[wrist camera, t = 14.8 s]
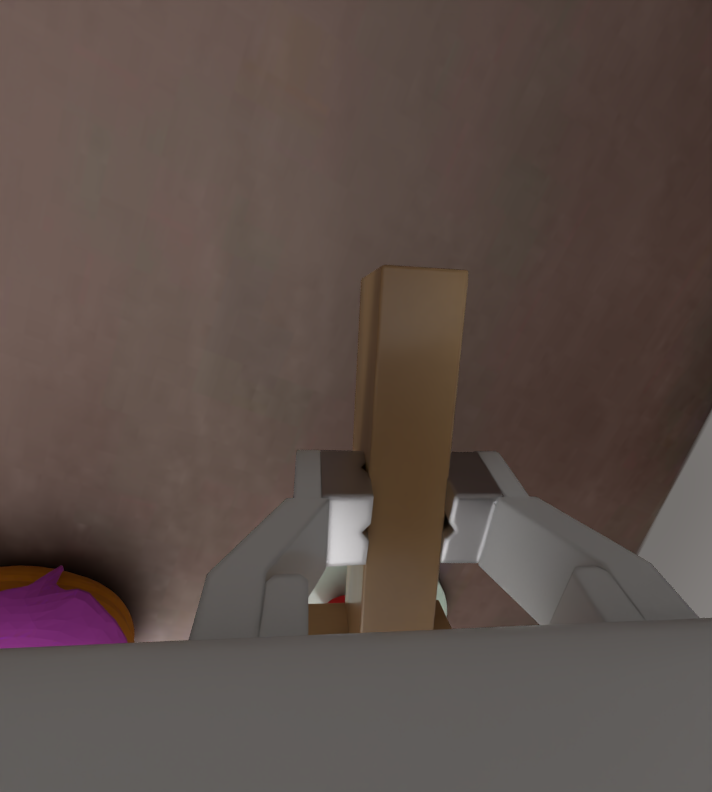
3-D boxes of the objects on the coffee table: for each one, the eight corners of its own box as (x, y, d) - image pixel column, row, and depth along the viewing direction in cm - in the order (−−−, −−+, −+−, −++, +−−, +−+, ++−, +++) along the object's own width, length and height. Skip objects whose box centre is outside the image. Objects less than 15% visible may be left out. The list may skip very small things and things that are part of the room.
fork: (470, 284, 10) (534, 273, 7) (415, 832, 14) (443, 972, 11) (311, 274, 10) (312, 259, 7) (296, 844, 13) (292, 993, 10)
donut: (-41, 664, 23) (-116, 766, 19) (-91, 530, 19) (-203, 627, 15) (154, 667, 25) (124, 761, 21) (151, 546, 20) (112, 636, 16)
